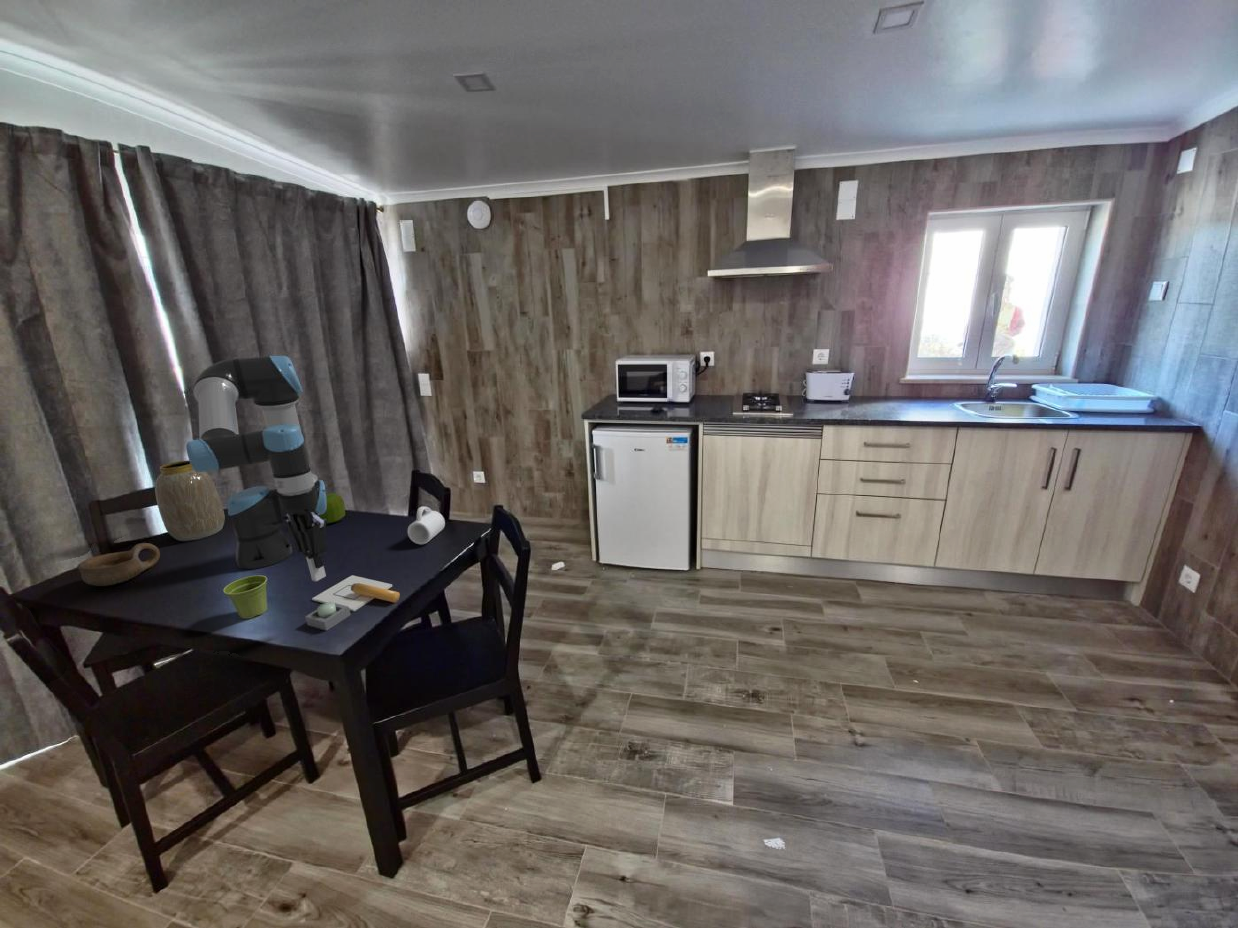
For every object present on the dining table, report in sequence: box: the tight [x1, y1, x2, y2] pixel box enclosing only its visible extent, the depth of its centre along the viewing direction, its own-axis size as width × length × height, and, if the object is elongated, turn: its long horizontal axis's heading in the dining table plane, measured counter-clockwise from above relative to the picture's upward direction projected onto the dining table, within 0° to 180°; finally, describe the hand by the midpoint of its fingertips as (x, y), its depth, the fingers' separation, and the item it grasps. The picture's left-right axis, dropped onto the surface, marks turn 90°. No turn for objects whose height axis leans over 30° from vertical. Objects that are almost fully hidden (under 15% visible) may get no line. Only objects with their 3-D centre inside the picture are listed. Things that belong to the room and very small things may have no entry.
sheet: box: [311, 574, 393, 612], centre depth 141 cm, size 16×13×1 cm
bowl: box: [76, 542, 161, 587], centre depth 154 cm, size 18×14×10 cm
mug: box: [407, 506, 446, 545], centre depth 171 cm, size 8×10×12 cm
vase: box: [154, 460, 226, 542], centre depth 181 cm, size 17×17×27 cm
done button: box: [316, 602, 337, 619], centre depth 128 cm, size 4×4×3 cm
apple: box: [318, 493, 346, 525], centre depth 190 cm, size 11×11×11 cm
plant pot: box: [222, 574, 268, 620], centre depth 132 cm, size 9×9×9 cm
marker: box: [351, 583, 401, 603], centre depth 137 cm, size 3×3×14 cm
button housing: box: [305, 603, 352, 631], centre depth 128 cm, size 7×7×2 cm
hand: (319, 578), depth 125 cm, fingers closed
